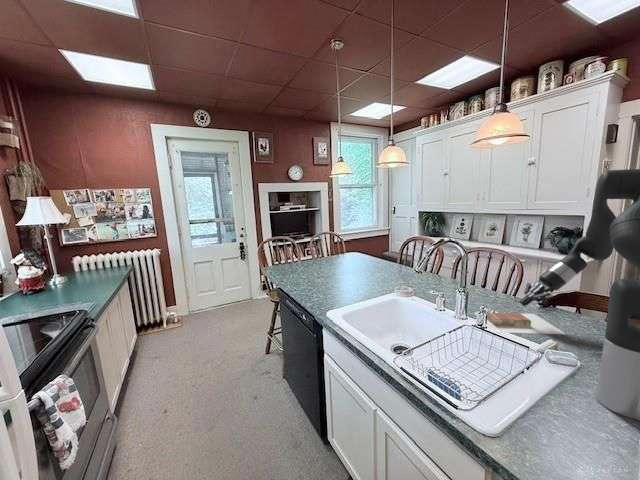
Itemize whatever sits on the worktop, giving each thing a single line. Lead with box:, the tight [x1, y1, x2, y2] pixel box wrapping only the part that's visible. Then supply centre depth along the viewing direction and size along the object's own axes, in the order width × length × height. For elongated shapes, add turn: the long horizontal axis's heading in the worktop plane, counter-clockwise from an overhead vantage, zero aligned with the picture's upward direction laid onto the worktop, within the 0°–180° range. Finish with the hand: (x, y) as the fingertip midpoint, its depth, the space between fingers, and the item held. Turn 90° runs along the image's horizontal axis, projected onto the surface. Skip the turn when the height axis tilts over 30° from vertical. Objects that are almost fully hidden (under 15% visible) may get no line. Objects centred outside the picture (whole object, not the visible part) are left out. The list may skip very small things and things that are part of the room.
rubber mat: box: [473, 312, 567, 335], centre depth 112 cm, size 26×18×1 cm
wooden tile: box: [486, 312, 531, 327], centre depth 112 cm, size 3×7×14 cm
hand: (521, 304), depth 110 cm, fingers closed
